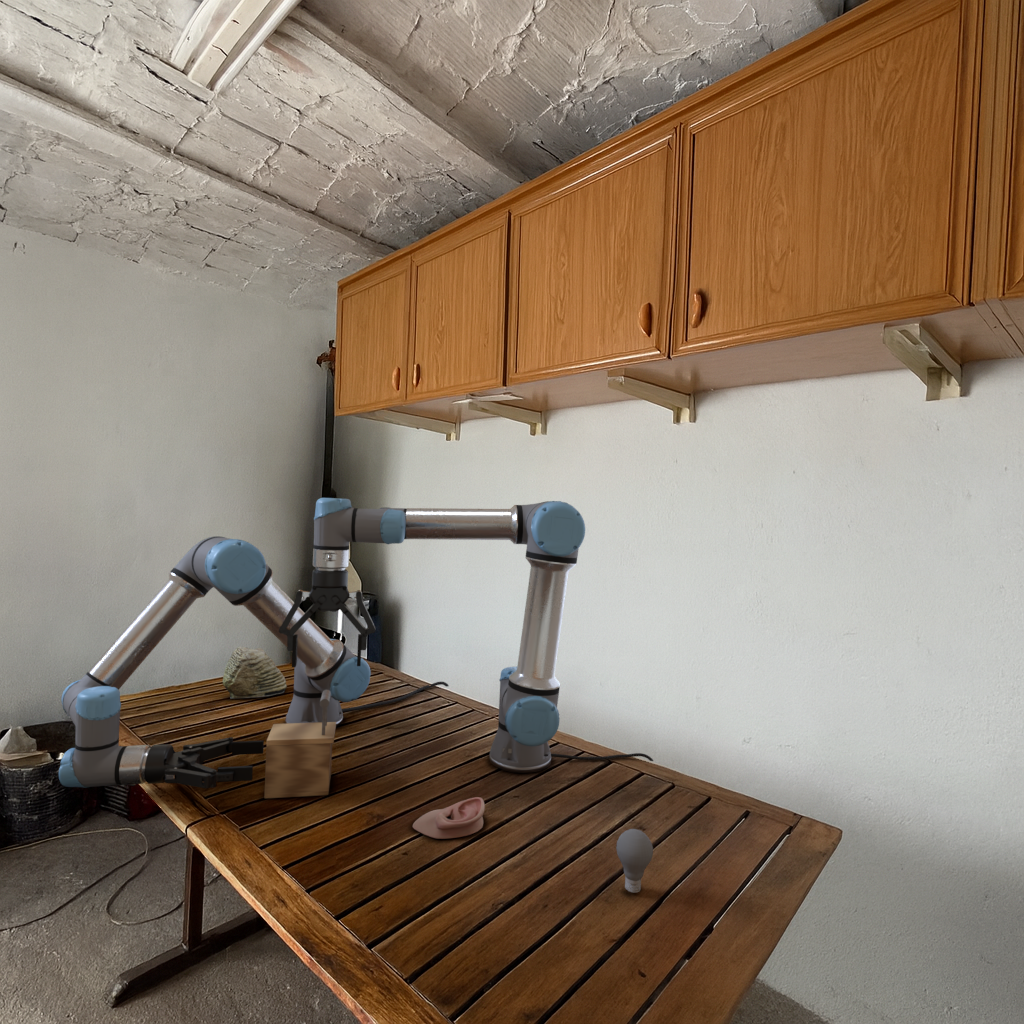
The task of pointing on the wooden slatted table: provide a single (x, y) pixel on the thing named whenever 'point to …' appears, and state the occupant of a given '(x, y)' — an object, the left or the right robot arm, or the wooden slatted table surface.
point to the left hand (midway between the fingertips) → (258, 759)
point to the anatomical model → (453, 820)
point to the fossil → (252, 674)
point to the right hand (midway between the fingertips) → (326, 665)
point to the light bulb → (634, 857)
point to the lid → (305, 729)
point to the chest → (298, 770)
